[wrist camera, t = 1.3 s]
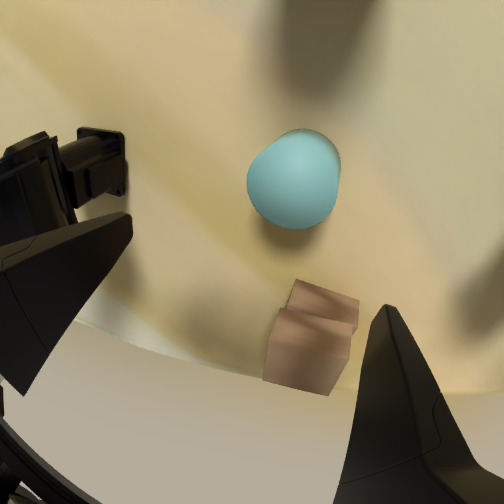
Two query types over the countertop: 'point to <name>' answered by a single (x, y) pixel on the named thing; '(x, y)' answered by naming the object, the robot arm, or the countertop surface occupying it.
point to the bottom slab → (323, 303)
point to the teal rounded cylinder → (295, 179)
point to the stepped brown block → (307, 352)
